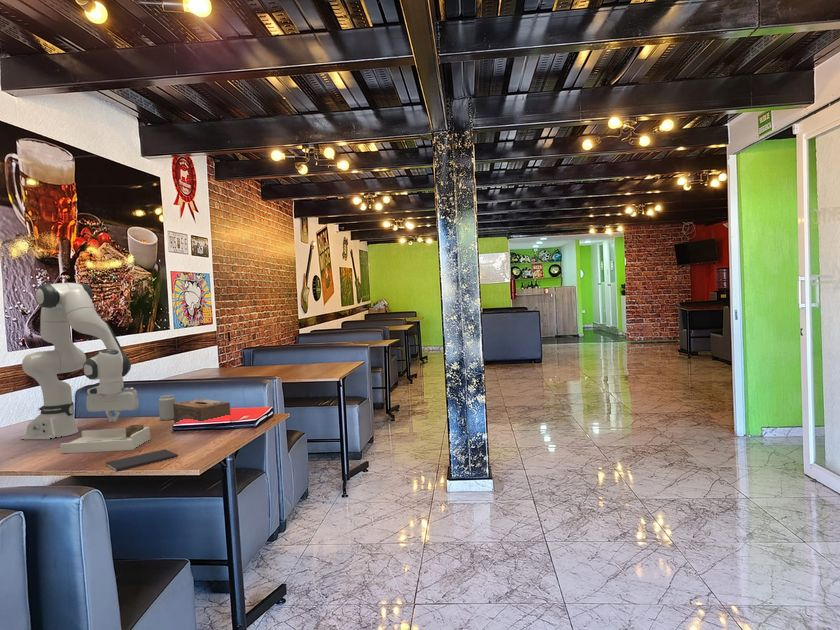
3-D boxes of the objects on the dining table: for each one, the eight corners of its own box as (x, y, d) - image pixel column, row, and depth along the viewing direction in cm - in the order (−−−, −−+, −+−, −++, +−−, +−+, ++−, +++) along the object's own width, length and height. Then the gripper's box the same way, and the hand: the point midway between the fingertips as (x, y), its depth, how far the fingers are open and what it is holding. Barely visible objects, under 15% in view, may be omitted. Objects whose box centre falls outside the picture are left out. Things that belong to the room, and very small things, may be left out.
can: (170, 421, 280) (168, 396, 279) (156, 421, 281) (155, 397, 281) (179, 417, 287) (177, 394, 287) (166, 417, 289) (164, 394, 288)
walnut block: (126, 437, 235) (125, 427, 235) (131, 434, 240) (131, 425, 240) (138, 436, 235) (137, 427, 235) (143, 433, 240) (143, 424, 240)
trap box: (61, 453, 225) (60, 440, 225) (83, 443, 241) (82, 430, 241) (132, 449, 226) (131, 436, 226) (150, 439, 242) (149, 426, 242)
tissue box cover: (230, 423, 268) (229, 402, 268) (202, 430, 257) (201, 408, 257) (202, 418, 285) (201, 398, 284) (174, 424, 273) (173, 403, 273)
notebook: (116, 473, 197) (178, 458, 212) (116, 468, 197) (178, 454, 212) (105, 466, 206) (165, 453, 221) (104, 462, 206) (165, 449, 221)
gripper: (140, 386, 240) (142, 418, 241) (91, 387, 240) (93, 420, 241) (133, 388, 234) (135, 422, 235) (83, 390, 234) (84, 423, 234)
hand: (113, 421), depth 238 cm, fingers closed
